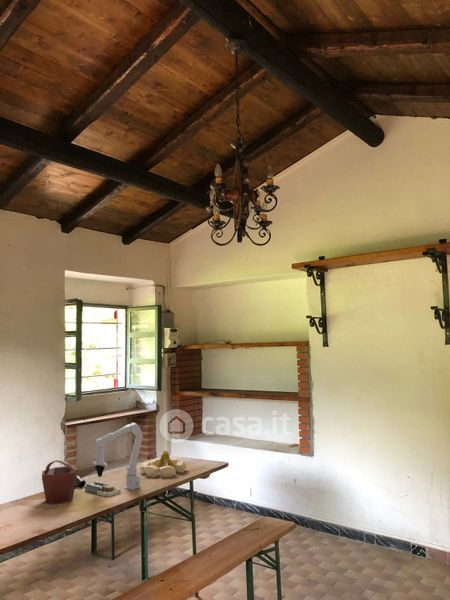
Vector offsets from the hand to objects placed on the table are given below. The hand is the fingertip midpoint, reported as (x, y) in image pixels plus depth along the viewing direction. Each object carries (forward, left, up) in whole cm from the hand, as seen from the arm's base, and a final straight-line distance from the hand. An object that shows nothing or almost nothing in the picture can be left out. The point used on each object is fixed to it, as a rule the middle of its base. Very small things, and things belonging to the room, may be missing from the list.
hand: (100, 476), depth 323 cm
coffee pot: (+23, +6, -10) cm, 26 cm away
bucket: (+8, +27, -10) cm, 30 cm away
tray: (-9, 0, -10) cm, 14 cm away
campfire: (-2, -60, -10) cm, 61 cm away
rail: (+3, 0, -10) cm, 10 cm away
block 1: (-7, +1, -9) cm, 11 cm away
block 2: (-9, +1, -7) cm, 11 cm away
